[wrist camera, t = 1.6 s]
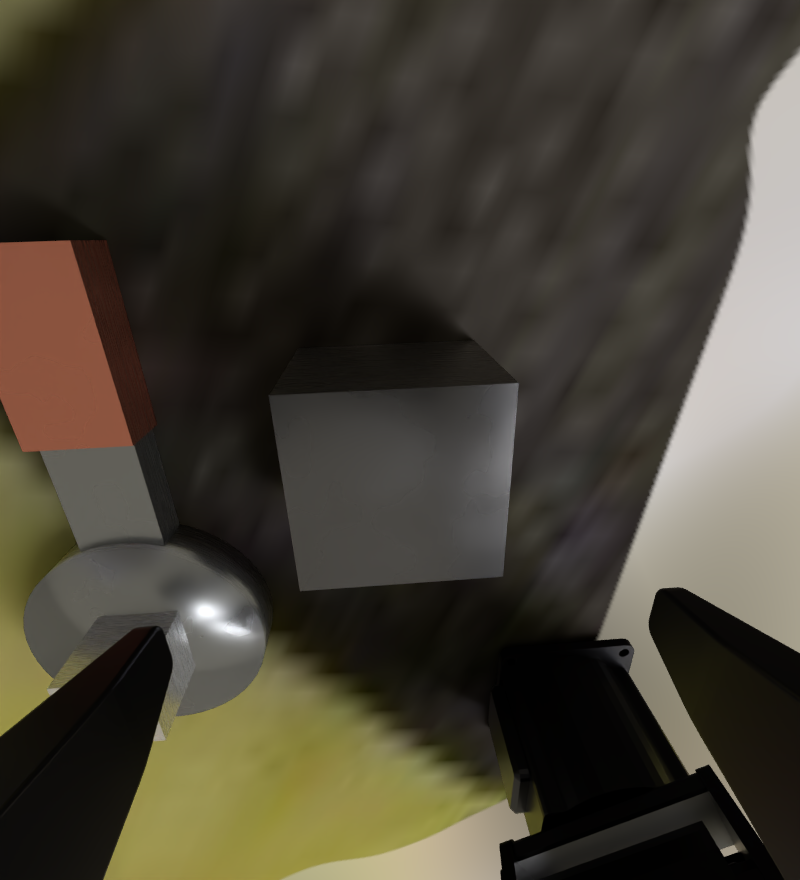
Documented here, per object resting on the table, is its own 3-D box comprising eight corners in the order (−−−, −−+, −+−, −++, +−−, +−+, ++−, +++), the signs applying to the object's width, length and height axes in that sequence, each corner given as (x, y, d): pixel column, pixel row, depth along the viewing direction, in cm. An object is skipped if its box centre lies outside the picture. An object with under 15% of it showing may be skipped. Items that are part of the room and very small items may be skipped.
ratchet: (-111, 247, 13) (-349, 252, 9) (201, 236, 14) (122, 236, 9) (92, 687, 21) (21, 805, 17) (286, 671, 21) (265, 782, 17)
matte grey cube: (474, 340, 15) (518, 383, 11) (468, 490, 18) (502, 576, 13) (298, 348, 15) (268, 395, 11) (317, 499, 18) (299, 591, 13)
